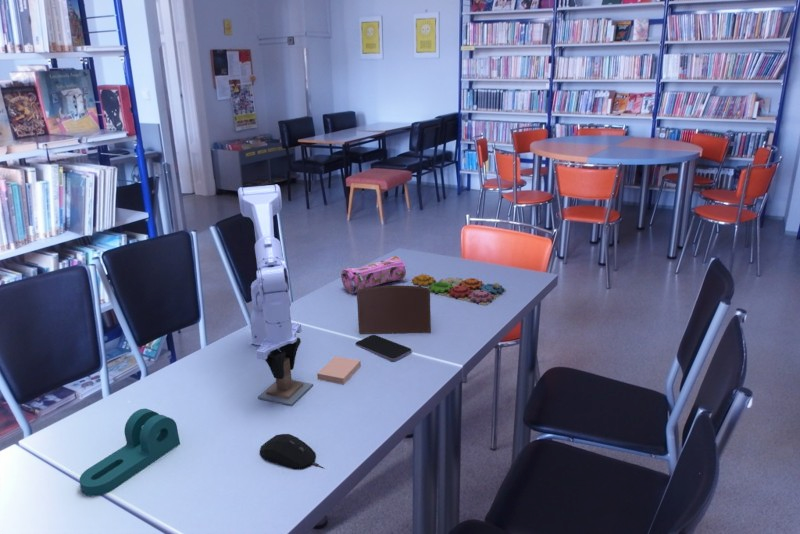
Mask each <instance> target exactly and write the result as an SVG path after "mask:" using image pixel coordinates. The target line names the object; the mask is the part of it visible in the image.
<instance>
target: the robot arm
mask: <svg viewBox="0 0 800 534" xmlns="http://www.w3.org/2000/svg"><path fill="white" fill-rule="evenodd" d="M237 194H238V202H239V203H238V204H239V210H240V211H239V212H240V213H241V215H242V217H244V218H245V217H246V218H249V219H250V220H251V221H252V222H253V226H254V227H253V228H254V237H255V243H254V253H255V258H256V259H255V260H256V268H257V270H256V274H255V275H256V279H255V280H254V281H252V283H251V285H250V289H251V290H250V294H251V303H252V309H253V311H252V312H251V315H250V319H249V323H250V324H249V325H250V330H251V338H252V341H250V344H251V345H256V346H260V347H258V349H257V350H256V358H257V359H258V360H263V361H265V362H266V364H267V366H268V367H269V370H270V371H271V374H272V375H273V378H274V379H276V378H277V379H282V378H283V376H284V358H285V357H286V358H289V360H290V369H291V371H294V368H295V361H296V355H297V351H298V348H300V347H299V346H300V345H301V343H302V341H301V338H300V337H297V336H296V335H297V334H301V332H302V323H298V322H293V323H292V317H291V306H292V301H291V293H290V292H291V291H290V288H291V287H290V286H291V285H290V284H291V283H290V275H289V270H288V266H287V265H286V264H287V263H286V260H285V259H284V254H283V249H282V243H281V241H280V240H279V239H278V238H276V237H275V232H274V231H275V230H274V216H275V215H277V214H280V212H281V210H282V208H283V200H282V192H281V187H280V185H278V184H270V185H258V186H247V187H246V186H245V187H239V188H238V189H237Z"/></svg>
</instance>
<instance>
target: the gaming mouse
mask: <svg viewBox="0 0 800 534" xmlns="http://www.w3.org/2000/svg"><path fill="white" fill-rule="evenodd" d="M259 455H260V456H261V458H262V459H264V460H265V461H266V462H269V463H271V464H276V465H278V466H281V467H285V468H288V469H291V470H304V469H307V468H309V467H311V466H314V467H315V468H321V469H324V470H325V469H326V468H325V467H323V466H322V465H320V464H319V463H316V462H315V461H316V458H317V457H316V456H317V454H316V452H315V451H314V450H313V448H311V446H309V445H308V444H307V443H306V442H304V441H303V440H302V439H300V438H299V437H297V436H295V435H293V434H289V433H280V434H275V435H274V436H273V437H271V438H270V439H268V440H267V441H266V442H265V443H263V444H262V445H261V446H260V448H259Z"/></svg>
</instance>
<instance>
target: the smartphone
mask: <svg viewBox="0 0 800 534" xmlns="http://www.w3.org/2000/svg"><path fill="white" fill-rule="evenodd" d="M355 346H356V347H358V348H360V349H363V350H365V351H367V352H370V353H371V354H373V353H374V355H376V356H378V357H380V358H383V359H384V360H388V361H389V362H396V361H399V360H400V359H403V358H404V357H406V356H409V355H410V354H412V352H413V349H412V348H410V347H407V346H406V345H402V344H401V343H398V342H395V341H393V340H389V339H387V338H384V337H382V336H379V335H378V334H370V335H369V336H367V337H365V338H362V339H360V340H358V341H356V342H355Z"/></svg>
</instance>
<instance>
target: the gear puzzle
mask: <svg viewBox="0 0 800 534" xmlns="http://www.w3.org/2000/svg"><path fill="white" fill-rule="evenodd" d="M411 282H413V285H417V286H418V287H426V288H428V289H429V290H430V294H434V293H435V294H437V295H438V296H441V297H446V298H450V299H453V298H457V300H459V301H463V302H465V301H466V302H468V303H471V304H473V303H474V302H475V303H478V305H480V306H484V307H485V306H489V305H490V304H491V302H492V301H495V300H497V298H499V297H500V296H501V294H504V293H506V291H507V289H506V288H504V287H503V285H501V284H499V283H498V282H494V283H487V284H484V283H483V281H482V280H479V279H478V278H473V277H469V278H466V279H465V280H464V279H463V278H460V277H455V278H454V277H447V278H445V279H443V278H442V279H441V278H440V279H439V280H438V281H436V279H435V278H434V276H430V275H429V274H418V275H416V276H414V277H413V278H412V279H411Z"/></svg>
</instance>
